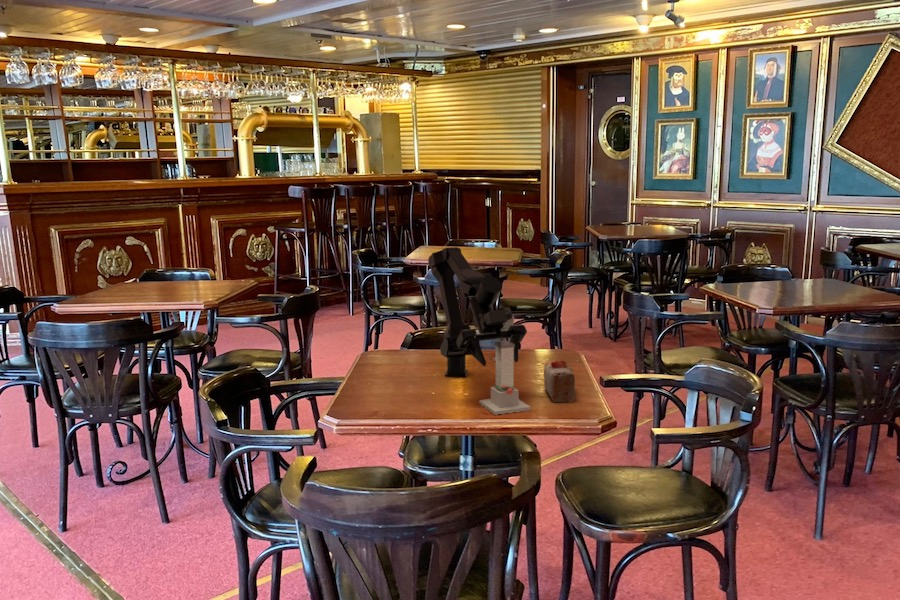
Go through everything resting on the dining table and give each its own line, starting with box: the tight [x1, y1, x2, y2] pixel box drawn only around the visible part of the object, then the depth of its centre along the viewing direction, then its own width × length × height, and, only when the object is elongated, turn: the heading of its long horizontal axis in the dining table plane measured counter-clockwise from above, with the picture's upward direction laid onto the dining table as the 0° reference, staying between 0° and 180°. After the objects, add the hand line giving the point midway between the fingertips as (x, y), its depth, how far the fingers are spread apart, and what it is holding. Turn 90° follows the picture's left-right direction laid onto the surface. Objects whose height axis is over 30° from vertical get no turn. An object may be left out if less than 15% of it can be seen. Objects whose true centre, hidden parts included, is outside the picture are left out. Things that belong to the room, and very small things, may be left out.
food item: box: [543, 360, 576, 403], centre depth 198 cm, size 14×8×10 cm, turn 3°
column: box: [494, 340, 515, 392], centre depth 187 cm, size 4×4×12 cm
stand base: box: [478, 386, 531, 416], centre depth 188 cm, size 10×10×6 cm
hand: (501, 363), depth 189 cm, fingers open, 9 cm apart
